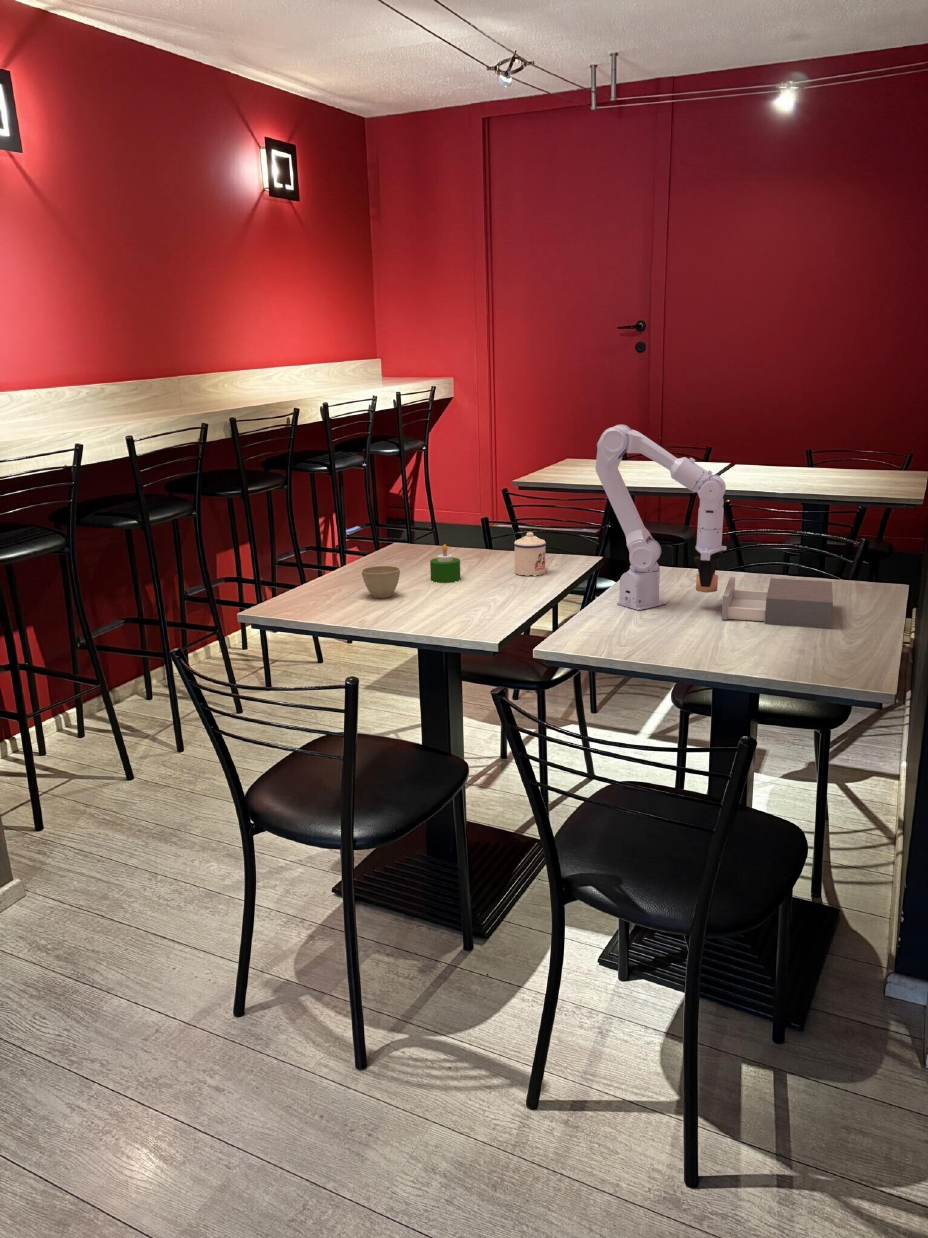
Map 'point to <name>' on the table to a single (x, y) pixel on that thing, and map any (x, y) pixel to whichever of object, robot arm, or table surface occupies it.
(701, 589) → the orange rounded part
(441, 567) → the candle
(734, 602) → the tray
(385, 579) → the bowl
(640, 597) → the robot arm
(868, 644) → the table surface
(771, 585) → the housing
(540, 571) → the teacup with lid
